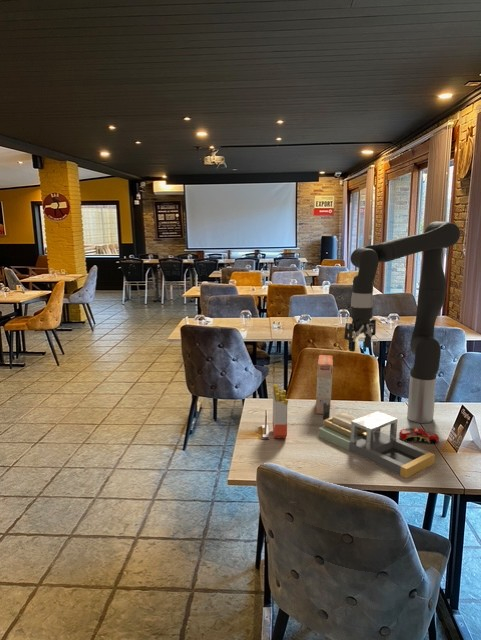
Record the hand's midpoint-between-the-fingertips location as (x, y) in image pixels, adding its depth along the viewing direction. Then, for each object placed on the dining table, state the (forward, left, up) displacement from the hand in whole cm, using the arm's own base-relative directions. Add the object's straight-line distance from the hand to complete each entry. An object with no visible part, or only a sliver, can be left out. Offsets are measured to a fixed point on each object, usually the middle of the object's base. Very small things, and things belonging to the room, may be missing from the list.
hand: (359, 349), depth 173 cm
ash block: (+9, +4, -27) cm, 29 cm away
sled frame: (+9, +4, -27) cm, 29 cm away
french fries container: (+27, -12, -30) cm, 42 cm away
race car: (-10, +20, -31) cm, 38 cm away
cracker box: (-4, -20, -30) cm, 37 cm away
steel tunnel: (+9, +15, -27) cm, 32 cm away
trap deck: (+9, +15, -30) cm, 35 cm away
